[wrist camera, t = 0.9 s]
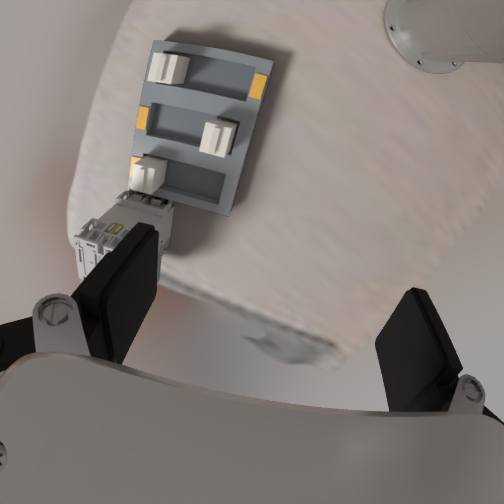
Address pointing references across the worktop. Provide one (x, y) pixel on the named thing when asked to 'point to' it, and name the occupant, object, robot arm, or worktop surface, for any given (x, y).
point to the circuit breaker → (122, 228)
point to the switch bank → (200, 122)
